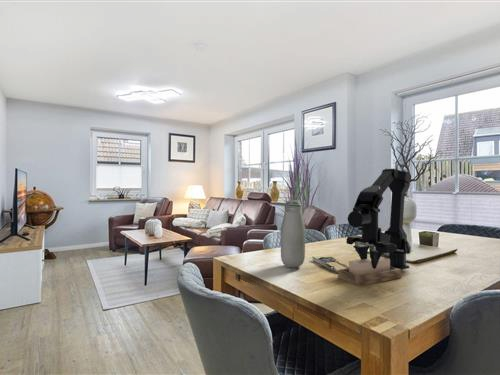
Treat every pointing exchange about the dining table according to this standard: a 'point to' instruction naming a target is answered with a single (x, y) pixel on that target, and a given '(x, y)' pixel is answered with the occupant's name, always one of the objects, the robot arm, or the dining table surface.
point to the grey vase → (293, 235)
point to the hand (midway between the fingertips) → (369, 266)
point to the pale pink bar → (368, 266)
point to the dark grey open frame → (328, 259)
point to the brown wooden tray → (369, 276)
